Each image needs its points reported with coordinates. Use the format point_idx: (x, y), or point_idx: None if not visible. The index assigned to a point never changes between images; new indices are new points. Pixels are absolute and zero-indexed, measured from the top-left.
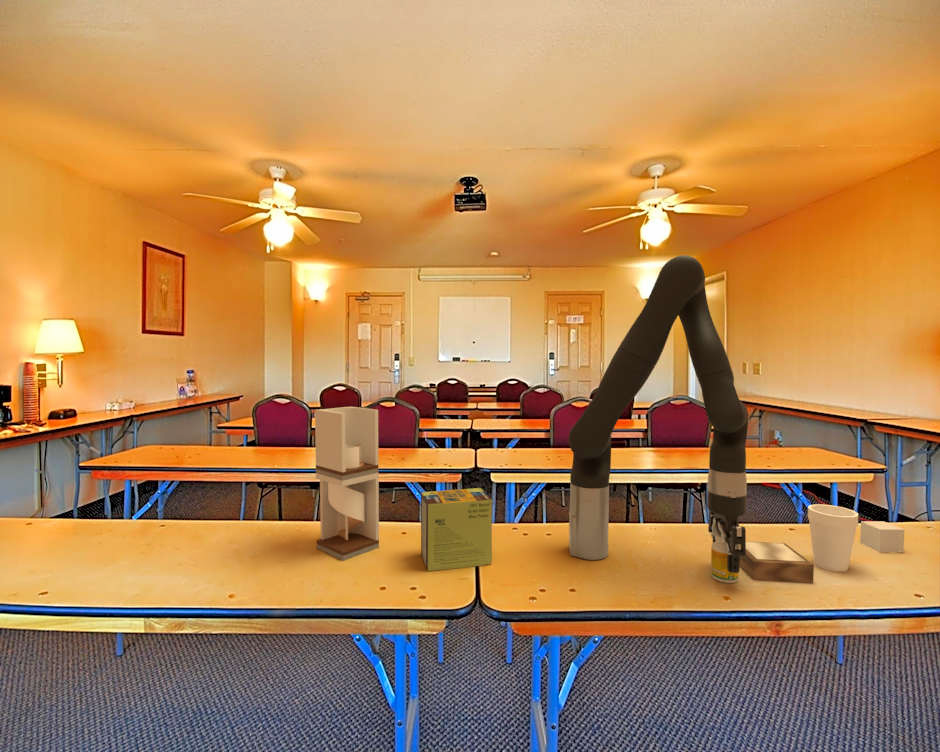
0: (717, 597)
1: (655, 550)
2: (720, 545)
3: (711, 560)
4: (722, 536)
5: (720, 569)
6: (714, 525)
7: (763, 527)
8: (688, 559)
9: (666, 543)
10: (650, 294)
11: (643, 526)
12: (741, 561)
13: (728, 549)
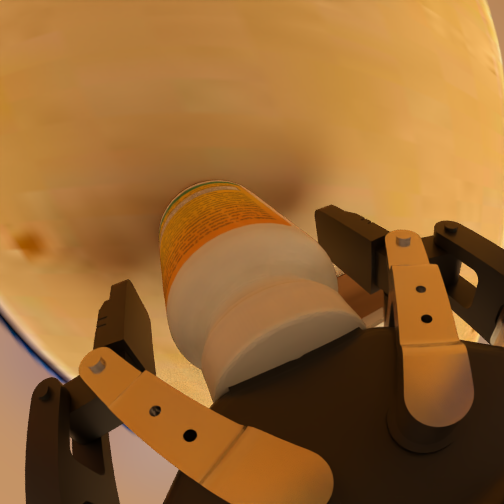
0: (14, 215)
1: (385, 5)
2: (218, 309)
3: (222, 198)
4: (164, 414)
5: (162, 238)
6: (417, 333)
7: None
8: (353, 101)
9: (441, 64)
10: None
11: (493, 48)
12: (343, 290)
13: (96, 377)
